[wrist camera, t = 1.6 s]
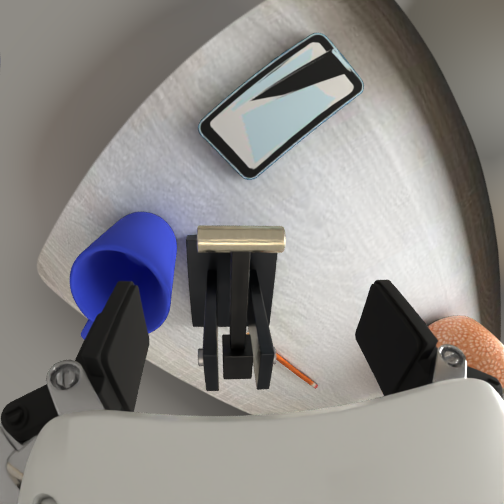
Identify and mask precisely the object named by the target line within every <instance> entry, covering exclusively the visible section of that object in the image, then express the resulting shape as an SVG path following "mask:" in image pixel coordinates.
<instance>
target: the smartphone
mask: <svg viewBox="0 0 504 504" xmlns="http://www.w3.org/2000/svg"><path fill="white" fill-rule="evenodd" d="M363 89H364V84H363V81H362V80H361V78H360V77H359V76H358V74H357V73H356V72H355V70H354V69H353V68H352V66H351V65H350V64H349V63H348V61H347V60H346V59H345V58H344V56H343V55H342V54H341V53H340V52H339V50H338V49H337V48H336V47H335V46H334V45H333V43H332V42H331V41H330V40H329V39H328V38H327V37H326V36H325V35H323V34H321V33H313V34H311V35H310V36H308V37H307V38H305V39H304V40H302V41H301V42H299V43H298V44H296V45H294V46H293V47H292V48H290V49H288V50H287V51H285V52H284V53H282V54H281V55H280V56H278V57H277V58H275V59H274V60H273V61H271V62H270V63H269V64H268V65H266V66H265V67H264V68H262V69H261V70H260V71H259V72H257V73H256V74H255V75H253V76H252V77H251V78H250V79H248V80H247V81H246V82H245V83H243V84H242V85H241V86H240V87H238V88H237V89H236V90H235V91H234V92H232V93H231V94H230V95H229V96H228V97H226V98H225V99H224V100H223V101H222V102H221V103H220V104H218V105H217V106H216V107H215V108H214V109H213V110H212V111H211V112H209V113H208V114H207V115H206V116H205V117H204V118H203V119H202V120H201V121H200V123H199V126H198V130H199V133H200V135H201V136H202V137H203V138H204V139H205V140H206V141H207V142H208V143H209V144H210V145H211V146H212V147H213V148H214V149H215V150H216V151H217V152H218V153H219V154H220V155H221V156H222V157H223V158H224V159H225V160H226V161H227V162H228V163H229V164H230V165H231V166H232V167H233V168H234V169H235V170H236V171H237V172H238V174H239V175H240V176H241V177H243V178H244V179H248V180H252V179H255V178H257V177H258V176H259V175H260V174H261V173H263V172H264V171H265V170H266V169H267V168H268V167H270V166H271V165H272V164H273V163H274V162H276V161H277V160H278V159H279V158H280V157H281V156H283V155H284V154H285V153H286V152H287V151H289V150H290V149H291V148H292V147H294V146H295V145H296V144H297V143H298V142H300V141H301V140H302V139H303V138H305V137H306V136H307V135H308V134H310V133H311V132H312V131H313V130H314V129H316V128H317V127H318V126H320V125H321V124H322V123H323V122H325V121H326V120H327V119H328V118H330V117H331V116H332V115H334V114H335V113H336V112H338V111H339V110H340V109H341V108H343V107H344V106H345V105H347V104H348V103H349V102H351V101H352V100H353V99H354V98H356V97H357V96H358V95H360V94H361V93H362V92H363Z"/></svg>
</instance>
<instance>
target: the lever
mask: <svg viewBox="0 0 504 504" xmlns="http://www.w3.org/2000/svg"><path fill="white" fill-rule="evenodd" d="M284 248H285V230H284V227H282V226H198V228H197V250H198V252H229V253H231V265H230V335H222V346H223V377H224V379H251V378H252V366H253V350H252V343H251V335H250V334H246V322H247V304H248V285H249V267H250V253H282V252H283V251H284Z"/></svg>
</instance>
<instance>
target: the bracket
mask: <svg viewBox="0 0 504 504" xmlns="http://www.w3.org/2000/svg"><path fill="white" fill-rule="evenodd" d="M186 246H187V263H188V278H189V291H190V303H191V314H192V324H193V327H204V334H203V349H198V365H199V366H204V374H205V383H206V390H207V391H219V374H218V327H230V265H231V253H229V252H198V250H197V235H188V236H187V239H186ZM276 261H277V253H250V267H249V285H248V304H247V322H246V326H248V329H249V334H250V335H251V343H252V350H253V366H254V373H255V380H256V387H257V389H258V390H259V389H269V386H270V380H271V374H272V368H273V364H275V363H276V349H275V347H273V343H272V339H271V334H270V330H269V324H270V315H271V307H272V298H273V289H274V280H275V271H276Z"/></svg>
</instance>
